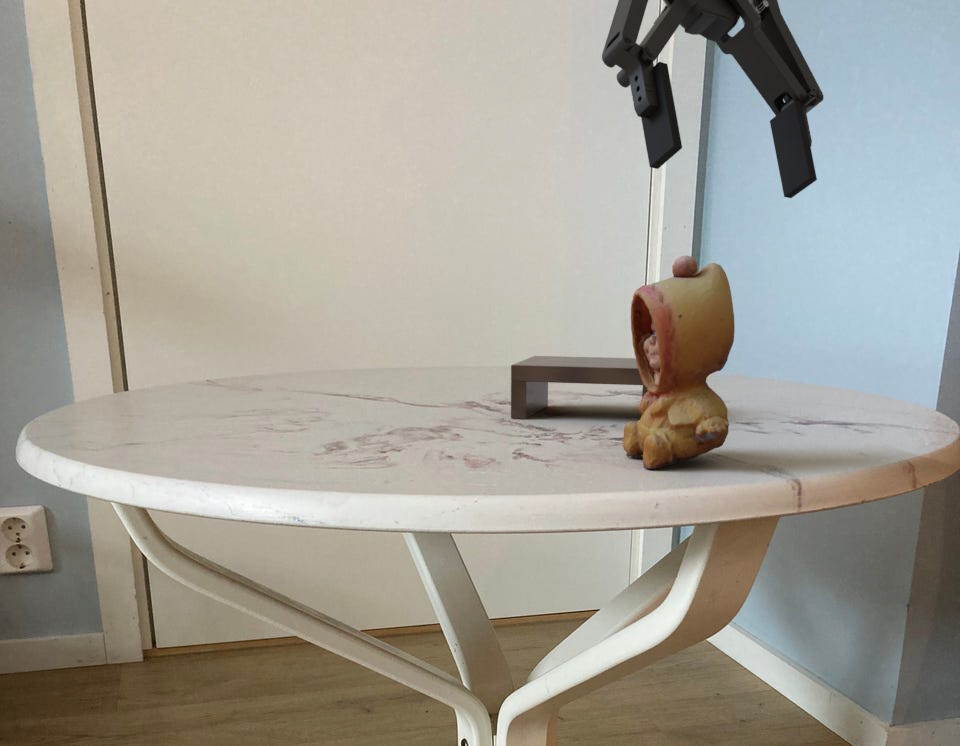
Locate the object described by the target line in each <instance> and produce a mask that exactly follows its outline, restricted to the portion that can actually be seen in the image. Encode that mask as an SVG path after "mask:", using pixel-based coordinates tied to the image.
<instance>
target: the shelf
mask: <svg viewBox="0 0 960 746" xmlns="http://www.w3.org/2000/svg"><path fill="white" fill-rule="evenodd" d="M549 383H551V384H552V383H553V384H555V383H557V384H589V385H617V386H618V385H619V386H620V385H621V386H623V385H624V386H642V393H641V399H642V398H643V396H644V394H646V393H647V392H648V390H647V388H646V387H645V386H644V384H643V382H642V380H641V377H640V373H639V370H638V367H637V363H636V357H598V356H597V357H596V356H595V357H594V356H557V355H533V356H531V357H528V358H526V359H523V360H521V361H518V362H516V363H514V364H511V365H510V419H514V420H515V419H516V420H527V419H529V418H530V417H532V416H533V415H535V414H537V413H539V412H540V411H542V410H543V409H545V408H547V407H548V406H549ZM640 414H641V413H640ZM641 416H642V414H641ZM641 416H640V417H641Z"/></svg>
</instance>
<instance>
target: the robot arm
mask: <svg viewBox="0 0 960 746" xmlns="http://www.w3.org/2000/svg"><path fill="white" fill-rule="evenodd" d="M662 1H663V3H664V4H665V6H664V7H663V9H662V11H661V12H660V13H659V15H658V16H657V17H656V19H655V20H654V22H653V25H652V26H651V27H650V29H649V30H648V32H647V34H646V35H645V36H644V38H642V41H641V42H640V43H639V44H638V43H637V40H638V37H639V33H640V29H641V27H642V24H643V20H644V16H645V12H646V9H647V6H648V3H649V0H618V1H617V5H616V8H615V11H614V14H613V18H612V20H611V24H610V27H609V31H608V34H607V37H606V40H605V44H604V47H603V51H602V53H601V60H602V62H603V64H604V65H605V66H607V67H608V68H615V66H617V67H618V68H620V69H621V70H619V71H618V72H617V74H616V82H617V83H618V84H619V85H620V86H621V87H622V88H629V87H630V91H631V96H632V101H633V103H632V104H633V109H634V111H635V114H636V116H637V117H639V118H641V124H642V130H643V137H644V142H645V148H646V152H647V159H648V165H649V168H652V169H656V170H658V169H660V168H661V167H662V166H663V165H664V164H666V163H667V162H668V161H669V160H670V159H671V158H673V157H674V156H675V155H676V154H677V153H678V152H680V151H681V150H682V149H683V145H682V139H681V133H680V128H679V123H678V122H679V121H678V117H677V110H676V106H675V100H674V94H673V89H672V88H673V87H672V83H671V76H670V72H669V67H668V63H666V62H662V61H658V62H657V63H656V64H655V65H654V62H655V61H656V60H657V58H658V57H659V56H660V54H661V53H662V51H663V50H664V49H665V47H666V45H667V44H668V42H670V40H671V38H672V37H673V35H674V33H675V32H676V30H678V28H679V26H680V27H682V28H683V29H684V33H686V34H689V35H691V36H692V35H693V36H694V35H695V36H697V35H698V36H701V37H703V38H705V39H706V40H708V41H712V42H714V43H715V44H716V45H717V47H718V48H719V49H720V51H721V52H722V53H723V54H724V55H731V56H732V57H733V59H734V60H735V62H736V63H737V64H738V65H739V67H740V68H741V69H742V70H743V73H744V74H745V75H746V77H747V78H748V79H749V81H750V83H752V85H753V86H754V87H755V89H756V90H757V92H758V93H759V95H760V96H761V97H762V98H763V100H764V101H765V103H766V104H767V106H768V107H769V109H770V110H771V111H772V113H773V114H774V115H775V116H773V118H772V119H770V120H769V124H770V129H771V135H772V140H773V145H774V150H775V157H776V161H777V166H778V171H779V177H780V181H781V182H780V183H781V187H782V192H783V197H784V198H788V199H793V197H795V196H797V195H798V194H799V193H801V192H802V191H804V190H806V188H808V187H809V186H811V185H812V184H813V183H815V182H816V181H818V179H817V178H818V177H817V173H816V167H815V163H814V158H813V152H812V143H813V140H812V136H811V131H810V125H809V119H808V115H807V114H808V113H809V112H810V111H811V110H813V109H814V108H815V107H816V106H818V105H819V104H820V103H822V102H823V101H824V93H823V91H822V89H821V87H820V86H819V83H818V82H817V79H816V78H815V75H814V74H813V72H812V70H811V68H810V67H809V64H808V62H807V60H806V59H805V57H804V55H803V53H802V51H801V49H800V47H799V45H798V43H797V41H796V39H795V37H794V35H793V33H792V32H791V30H790V28H789V26H788V24H787V22H786V20H785V18H784V16H783V14H782V11H781V8H780V5H779V1H778V0H662ZM740 19H741V20H742V25H743V27H742V28H741V29H740V30H738V31H737V32H736V34H734V35H733V36H731V35H730V34H729V32H730V31H732V30H733V29H734V28H735V27H736V26H737V24H738V22H739V20H740Z"/></svg>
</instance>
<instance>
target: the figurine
mask: <svg viewBox="0 0 960 746" xmlns="http://www.w3.org/2000/svg"><path fill="white" fill-rule="evenodd" d="M671 272H672V275H673V276H672V277H669V278H666V279H663V280H659V281H657V282H652V283H651V284H646V285H641V286H640V287H638V288H637V289H635V291H634V293H633V295H632V300H631V304H630V330H631V335H632V336H631V338H632V339H631V341H632V348H633V351H634V358H636V363H637V367H638V370H639V373H640V377H641V380H642V382H643V384H644V386H645V387H646V388H647V390H648V392H647V393H646V394H644V396H643V398H642V397H641V400H640V401H639V405H638V412H639V413H640V414H642V416H640V419H639V420H631V421H628V422H627V423H626V424H625V425H624V428H623V441H622V448H623V450H624V451H625V452H626V454H625V456H626V457H628V458H639V457H642V463H643V469H645V470H655V469H660V468H663V467H666V466H669V465H674V464H676V463H679V462H683V461H687V460H690V459H694V458H698V457H699V456H701V455H704V454H707V453H709V452H711V451H713V450H715V449H719V448H720V447H722V446H723V445H724V443H725V442H726V439H727V436H728V434H729V426H730V422H729V418H728V412H729V411H728V407H727V405H726V403H725V401H724V400H723V399H722V397H721V396H719V395H718V393H717V392H716V391H714V390H713V389H712V388H711V387H710V386H709V384H708V382H707V378H708V377H709V376H710V375H712V374H714V373H716V372H720V371H722V370H723V369H724V367H725V365H726V364H727V362H728V360H729V359H728V358H729V355H730V353H731V349H732V348H733V345H734V341H735V313H734V304H733V297H732V291H731V286H730V282H729V279H728V276H727V273H726V272H725V270H724V268H723V267H722V265H721V264H718V263H716V262H711V263H707V265H705V266H704V267H702V268H701V269H700V270H698V262H697V260H696V259H695V258H694V256H691V255H685V254H684V255H681V256H679V257H677V258H676V259H675V260H674V261H673V264H672V271H671Z"/></svg>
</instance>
